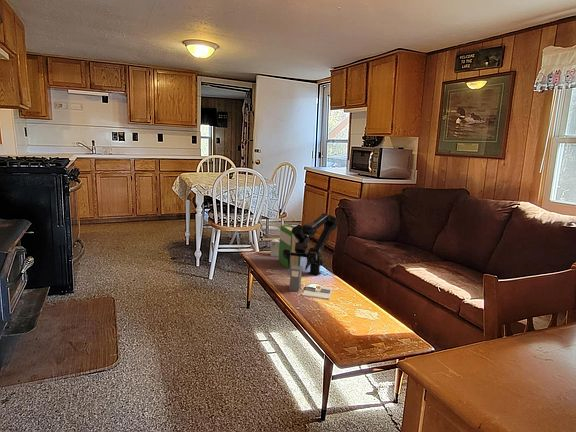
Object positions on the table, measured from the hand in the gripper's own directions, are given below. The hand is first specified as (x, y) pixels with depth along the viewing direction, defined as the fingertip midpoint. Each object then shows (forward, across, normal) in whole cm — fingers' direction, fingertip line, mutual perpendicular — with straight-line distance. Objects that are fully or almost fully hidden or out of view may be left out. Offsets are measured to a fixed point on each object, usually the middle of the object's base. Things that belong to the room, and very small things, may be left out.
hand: (297, 268), depth 210 cm
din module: (+9, 0, +5) cm, 11 cm away
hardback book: (-19, -12, +34) cm, 41 cm away
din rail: (+9, +13, +5) cm, 17 cm away
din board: (+9, +13, +5) cm, 17 cm away
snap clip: (+8, +13, +4) cm, 15 cm away
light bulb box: (-31, -24, +46) cm, 60 cm away
